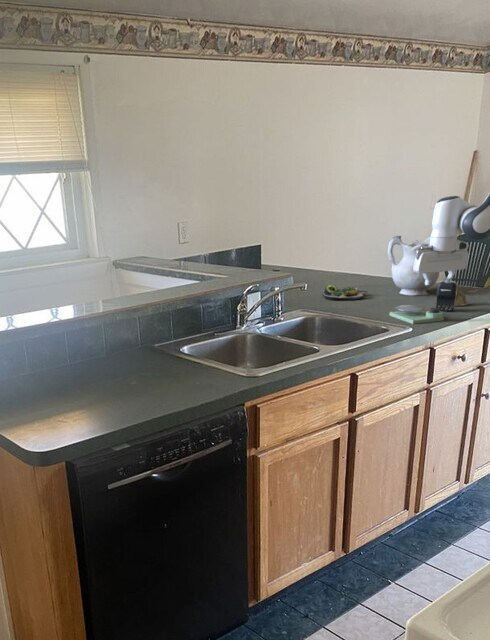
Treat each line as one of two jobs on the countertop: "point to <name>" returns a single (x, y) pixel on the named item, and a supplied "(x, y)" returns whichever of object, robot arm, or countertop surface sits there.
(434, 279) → the ceramic pitcher
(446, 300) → the battery charger
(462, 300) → the rock
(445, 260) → the robot arm
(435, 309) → the tare button
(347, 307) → the countertop surface
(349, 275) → the countertop surface
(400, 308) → the scale pan
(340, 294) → the salad plate
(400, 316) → the scale
